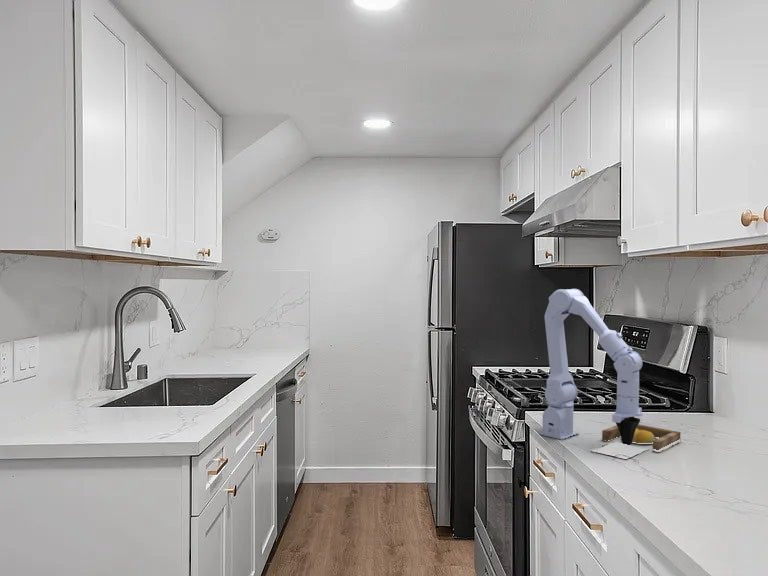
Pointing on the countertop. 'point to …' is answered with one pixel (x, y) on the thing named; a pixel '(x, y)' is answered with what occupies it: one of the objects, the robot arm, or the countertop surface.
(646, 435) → the bread roll
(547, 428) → the robot arm
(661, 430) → the frame
